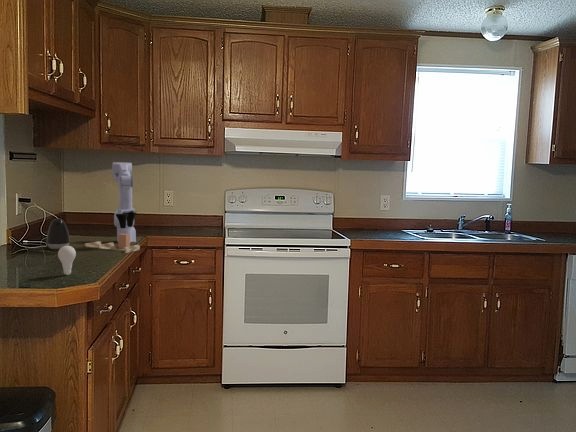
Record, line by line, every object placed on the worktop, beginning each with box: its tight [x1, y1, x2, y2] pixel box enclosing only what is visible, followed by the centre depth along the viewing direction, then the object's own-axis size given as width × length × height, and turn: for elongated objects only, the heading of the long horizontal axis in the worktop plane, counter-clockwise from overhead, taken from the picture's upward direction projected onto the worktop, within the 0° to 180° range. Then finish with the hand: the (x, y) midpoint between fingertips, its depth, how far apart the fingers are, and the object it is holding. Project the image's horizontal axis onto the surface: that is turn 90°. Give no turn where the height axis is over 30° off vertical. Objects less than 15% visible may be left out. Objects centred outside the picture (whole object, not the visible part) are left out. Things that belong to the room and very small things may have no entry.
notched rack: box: [84, 240, 141, 254], centre depth 246 cm, size 10×25×2 cm, turn 68°
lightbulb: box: [57, 245, 77, 276], centre depth 187 cm, size 6×6×11 cm
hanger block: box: [117, 233, 131, 249], centre depth 243 cm, size 4×4×7 cm
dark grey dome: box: [46, 217, 71, 250], centre depth 241 cm, size 10×10×15 cm
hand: (126, 227), depth 249 cm, fingers open, 7 cm apart
